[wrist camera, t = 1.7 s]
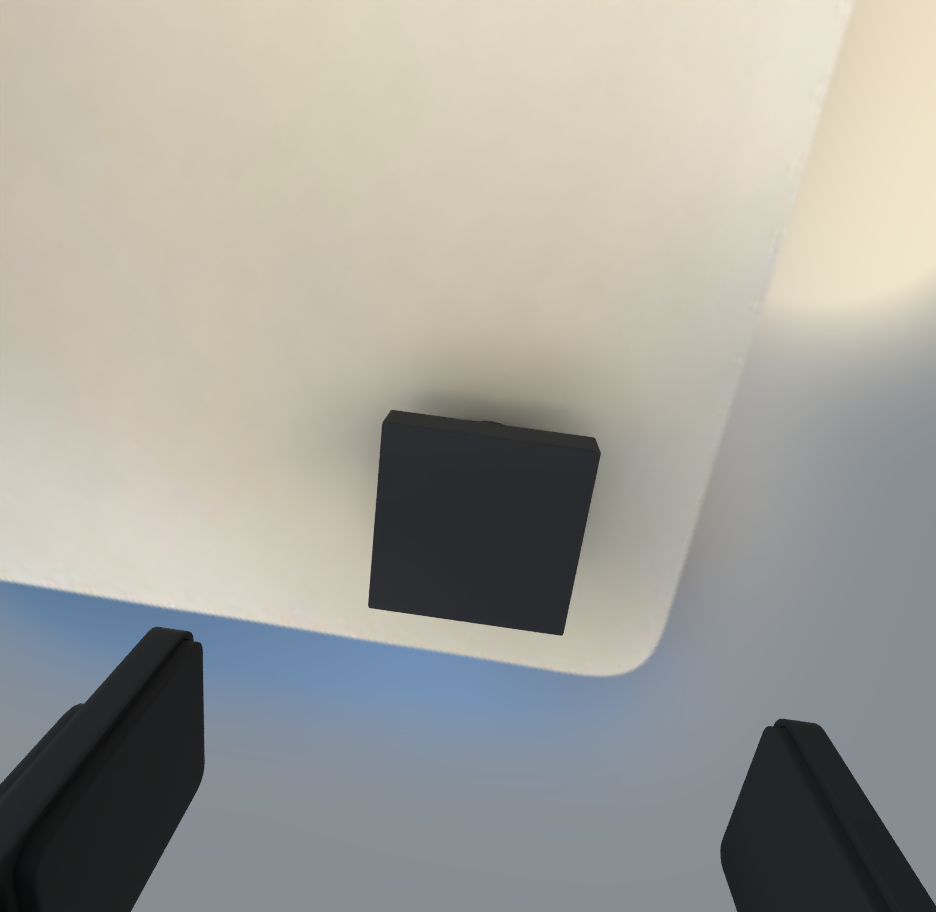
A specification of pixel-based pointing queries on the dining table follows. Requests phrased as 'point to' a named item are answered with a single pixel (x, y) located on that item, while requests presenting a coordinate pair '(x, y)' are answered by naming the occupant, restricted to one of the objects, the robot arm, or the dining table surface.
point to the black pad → (479, 521)
